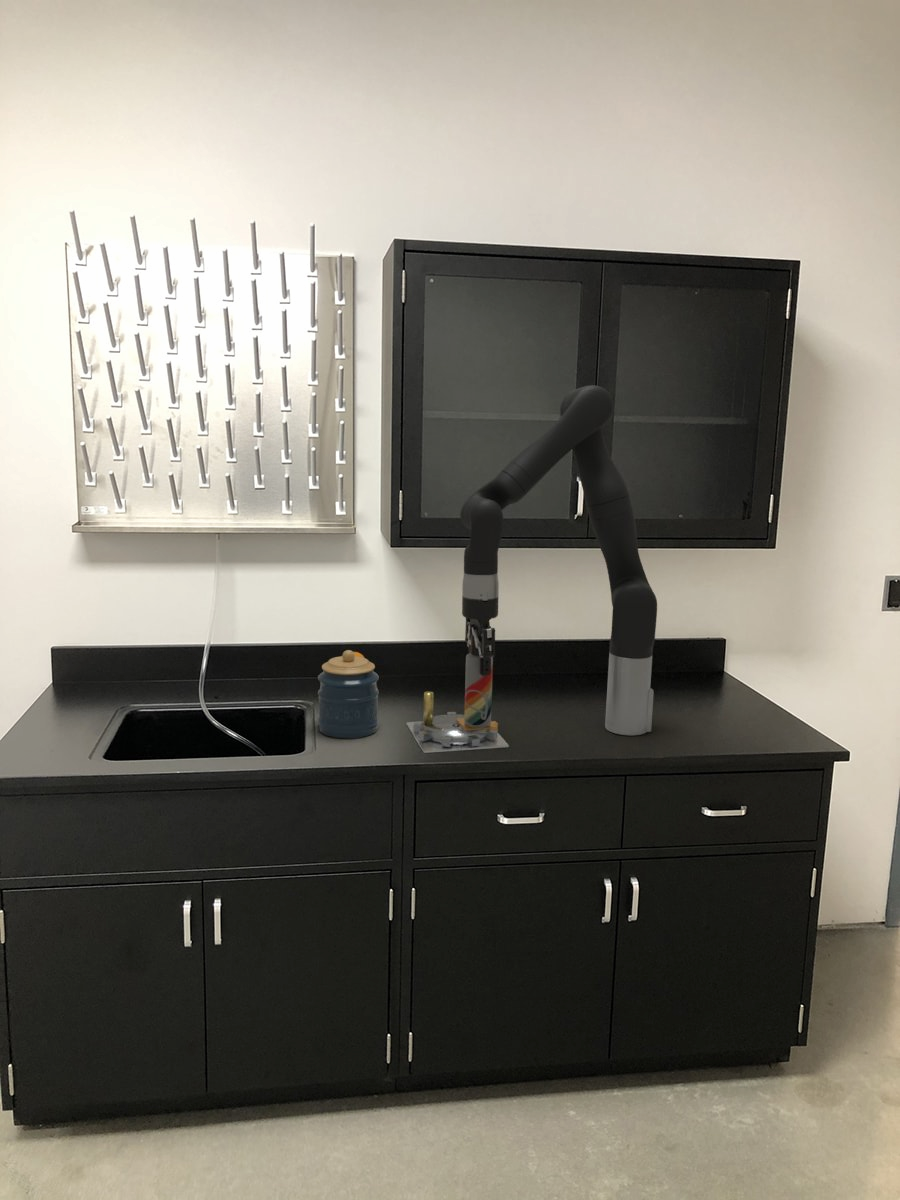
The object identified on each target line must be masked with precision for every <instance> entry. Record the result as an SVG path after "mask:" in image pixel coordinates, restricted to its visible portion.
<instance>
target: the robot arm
mask: <svg viewBox="0 0 900 1200" xmlns="http://www.w3.org/2000/svg"><path fill="white" fill-rule="evenodd" d="M613 413H614V401H613V398H612V395H611V394H610V393H609V391H608V390H607V389H606V388H604V387H601V386H599V385H585V386H582V387H581V386H580V387H579V388H576V389H573V390H570V391H569V392H568V393H566V394H565V395H564V397H563V398H562V401H561V403H560V405H559V415H560V417H559V418H558V420H557V421H556V422H555V423H554V424H553V425H552V426H551V427H550V428H549V429H548V430H546V432H545V433H543V434H542V435H541V436H540V437H539V438H537V439H536V440H534V442H532V443H531V444H529V445H528V446H527V447H525V448H524V449H523V450H522V451H521V452H519V453H518V454H517V455H515V457H514V458H512V460H511V461H510V462H509V463H508V464H507V465H505V466H504V467H503V469H501V471H500V472H499V473H497V475H496V476H495V477H494V478H493V479H491V480H490V481H489V482H487V483H485V485H483V486H481V487H480V488H479V489H478V490H476V491H475V492H474V493H472V494H471V495H470V496H469V497H468V498H467V499H466V501H465V502H464V503H463V504H462V506H461V509H460V511H459V512H460V514H459V515H460V518H459V519H460V521H461V523H462V524H463V526H465V528H467V529H468V530H470V537H469V538H470V539H469V544H468V545H467V546H466V547H465V549H464V554H463V578H462V585H461V586H462V588H461V589H462V590H461V591H462V598H461V600H462V603H461V605H462V606H461V610H462V611H461V614H462V616H463V617H464V618H465V632H464V633H465V635H464V636H465V637H464V640H465V642H466V643H467V644H466V645H467V648H468V654H470V652H471V635H473V636H474V639H475V645H476V648H478V649H479V656H480V675H482V676H486V675H490V674H491V658H492V657H493V658H495V657H496V629H495V627H492V626H490V625H491V623H490V620H491V619H496V618H497V617H498V615H499V592H500V591H499V589H500V587H499V585H500V584H499V575H498V572H499V569H498V568H499V566H498V565H499V564H498V563H499V562H498V560H499V559H498V557H499V556H498V555H499V554H498V553H499V548H500V545H501V540H502V535H503V530H504V514H503V510H504V509H505V508H506V507H508V506H510V505H513V504H516V503H518V502H519V501H521V500H522V499H523V498H524V497H525V496H527V494H528V493H530V491H531V490H532V489H533V488H534V487H535V486H536V485H537V484H538V483H539V482H540V481H541V480H542V479H543V478H544V477H545V476H546V475H547V474H548V473H549V472H550V471H551V470H552V469H553V467H555V465H557V464H558V463H559V462H560V461H561V460H562V459H563V458H564V457H566V455H567V454H568V453H569V452H570V451H572V453H573V455H574V459H575V462H576V467H577V471H578V476H579V481H580V484H581V488H582V491H583V496H584V500H585V505H586V509H587V513H588V516H589V517H588V518H589V520H590V525H591V526H592V530H593V533H594V535H595V539H596V541H597V543H598V547H599V548H600V551H601V554H602V555H603V558H604V560H605V561H604V562H605V566H606V570H607V574H608V580H609V587H610V598H611V605H612V606H611V607H612V613H611V615H612V617H611V631H610V632H611V633H610V640H609V649H608V650H609V653H608V654H609V655H608V668H607V669H608V671H607V687H606V688H607V690H606V703H605V704H606V705H605V720H604V722H605V723H604V724H605V725H604V727H605V729H606V730H607V731H608V732H610V733H613V734H615V735H622V736H640V735H644V734H646V733H651V732H652V721H653V709H654V708H653V706H654V689H653V688H652V687H651V679H652V666H653V654H654V653H653V651H654V644H655V640H656V628H657V615H658V601H657V597H656V594H655V593H654V590H653V589H652V587H651V585H650V583H649V581H648V578H647V575H646V572H645V569H644V567H643V564H642V561H641V558H640V554H639V548H638V535H637V533H638V532H637V526H636V525H637V524H636V519H635V513H634V508H633V503H632V501H631V495H630V493H629V488H628V486H627V484H626V482H625V480H624V478H623V476H622V474H621V473H620V470H619V469H618V468H617V465H616V464H615V462H614V461H613V459H612V457H611V456H610V453H609V451H608V448H607V445H606V441H605V437H604V432H603V427H604V426H605V425H606V424H607V423H608V422H609V421H610V419H611V417H612V415H613ZM486 648H487V649H488V651H486Z"/></svg>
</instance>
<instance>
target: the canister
mask: <svg viewBox="0 0 900 1200" xmlns="http://www.w3.org/2000/svg"><path fill="white" fill-rule="evenodd" d="M353 652H354V651H353V650H351V649H347V650H345V651H343V652H342V655H341V656H335V657H332V658H330V659H328V661H327V662H324V663H323V664H322V665H321V669H322V670H323V671H322V672H321V673H320V674H318V676H317V680H318V681H319V683H320V686H319V689H318V691H317V695H318V718H317V721H318V722H317V724H318V727H319V732H320V733H322V734H323V735H325V736H329V737H330V738H331V737H332V738H337V739H355V738H356V739H357V738H363V737H367V736H370V735H372V734H375V732H376V731H377V730H378V725H379V715H378V714H379V712H378V711H379V701H378V700H379V693H380V691H379V689H378V686H377V682H378V681H379V679H380V677H379V675H378V673H376V672H375V671H374V670H375V668H376V666H375V663H373V662H371V661H369V659H367V658H365V657H364V658H363V657H358V656H355V655H354V653H353Z"/></svg>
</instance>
